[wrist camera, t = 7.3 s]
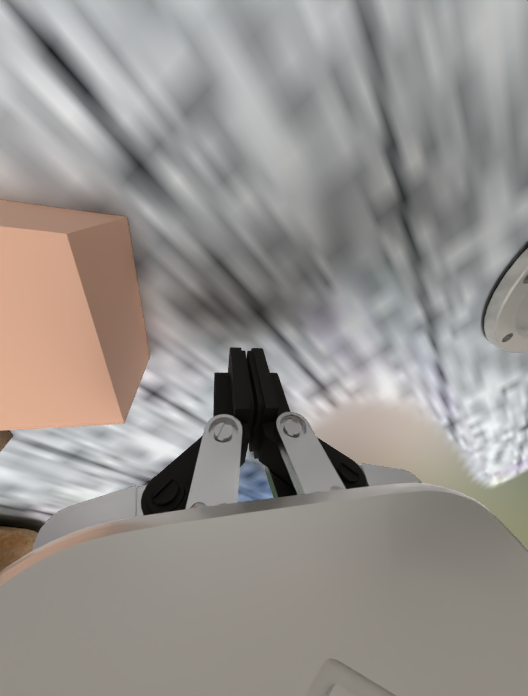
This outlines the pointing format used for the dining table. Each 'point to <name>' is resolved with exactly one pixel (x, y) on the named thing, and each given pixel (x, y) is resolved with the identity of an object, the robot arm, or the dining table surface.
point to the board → (4, 438)
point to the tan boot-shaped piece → (15, 544)
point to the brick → (67, 318)
